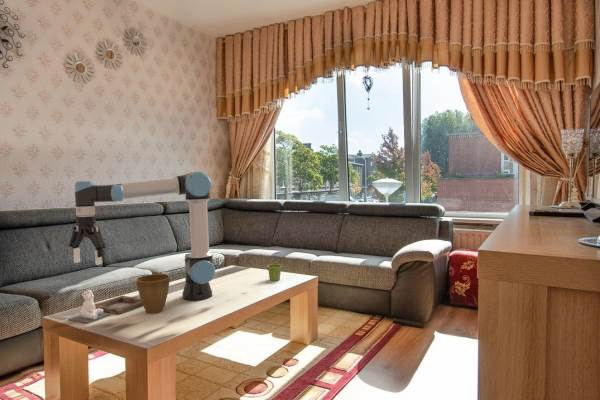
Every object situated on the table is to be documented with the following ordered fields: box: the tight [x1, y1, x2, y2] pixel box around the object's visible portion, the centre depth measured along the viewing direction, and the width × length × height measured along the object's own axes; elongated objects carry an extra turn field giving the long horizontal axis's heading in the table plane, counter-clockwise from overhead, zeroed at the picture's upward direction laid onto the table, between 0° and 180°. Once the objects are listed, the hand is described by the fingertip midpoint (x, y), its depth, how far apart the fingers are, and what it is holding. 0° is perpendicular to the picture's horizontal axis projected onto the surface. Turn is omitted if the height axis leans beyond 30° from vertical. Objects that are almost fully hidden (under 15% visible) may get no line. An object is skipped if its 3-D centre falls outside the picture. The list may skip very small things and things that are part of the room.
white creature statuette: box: [79, 289, 104, 320], centre depth 188 cm, size 10×9×12 cm
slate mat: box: [67, 312, 112, 324], centre depth 189 cm, size 12×12×1 cm
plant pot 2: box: [266, 263, 283, 282], centre depth 255 cm, size 9×9×9 cm
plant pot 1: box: [135, 273, 171, 315], centre depth 196 cm, size 15×15×16 cm
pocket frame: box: [95, 295, 144, 316], centre depth 205 cm, size 19×19×2 cm
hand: (87, 263), depth 188 cm, fingers open, 13 cm apart
